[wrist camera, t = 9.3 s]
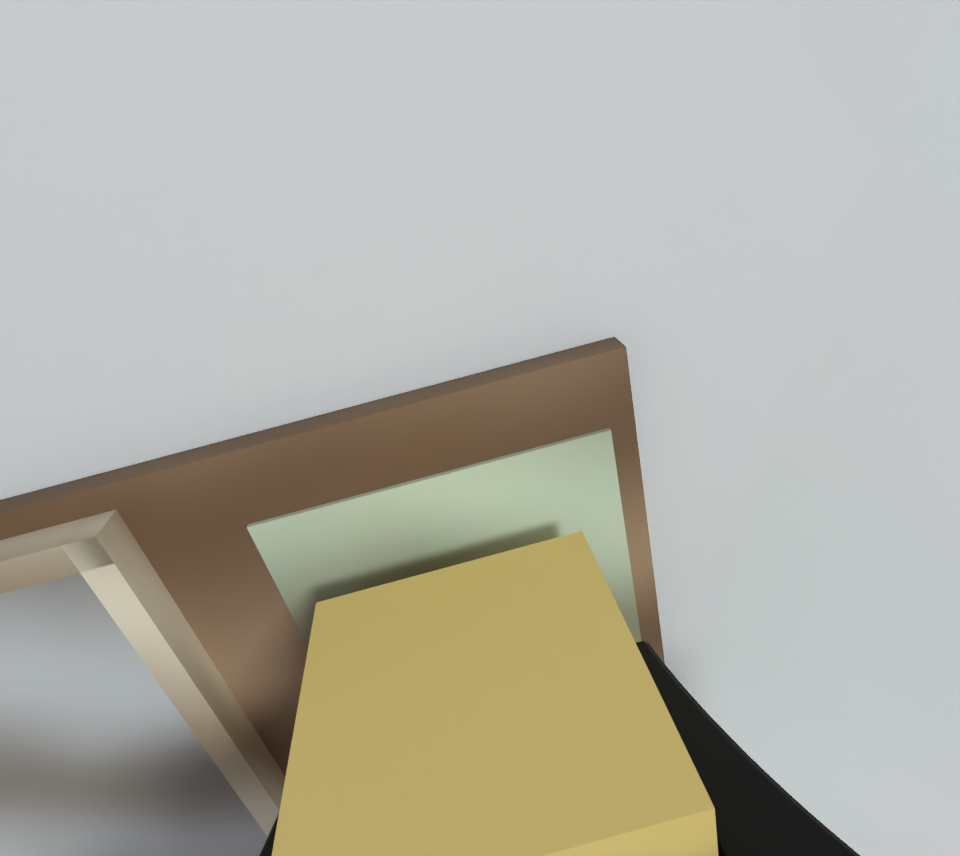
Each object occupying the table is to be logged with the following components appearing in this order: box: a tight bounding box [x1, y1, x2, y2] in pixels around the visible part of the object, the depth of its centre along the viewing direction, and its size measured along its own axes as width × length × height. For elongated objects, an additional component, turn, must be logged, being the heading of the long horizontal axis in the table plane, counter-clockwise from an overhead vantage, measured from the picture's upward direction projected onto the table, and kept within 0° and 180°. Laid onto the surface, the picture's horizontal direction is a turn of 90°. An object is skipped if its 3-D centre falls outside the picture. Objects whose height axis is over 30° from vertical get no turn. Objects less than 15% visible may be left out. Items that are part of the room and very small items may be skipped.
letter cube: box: [272, 531, 719, 856], centre depth 10 cm, size 5×5×5 cm
